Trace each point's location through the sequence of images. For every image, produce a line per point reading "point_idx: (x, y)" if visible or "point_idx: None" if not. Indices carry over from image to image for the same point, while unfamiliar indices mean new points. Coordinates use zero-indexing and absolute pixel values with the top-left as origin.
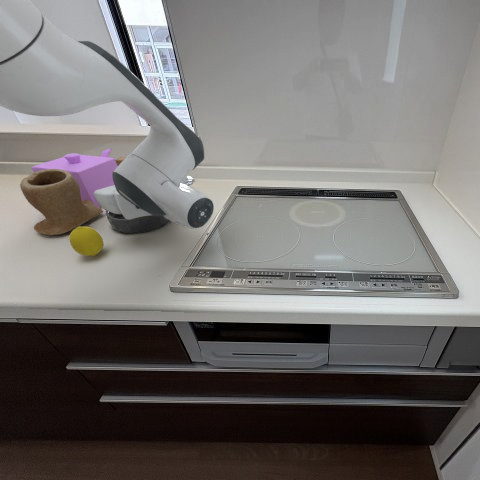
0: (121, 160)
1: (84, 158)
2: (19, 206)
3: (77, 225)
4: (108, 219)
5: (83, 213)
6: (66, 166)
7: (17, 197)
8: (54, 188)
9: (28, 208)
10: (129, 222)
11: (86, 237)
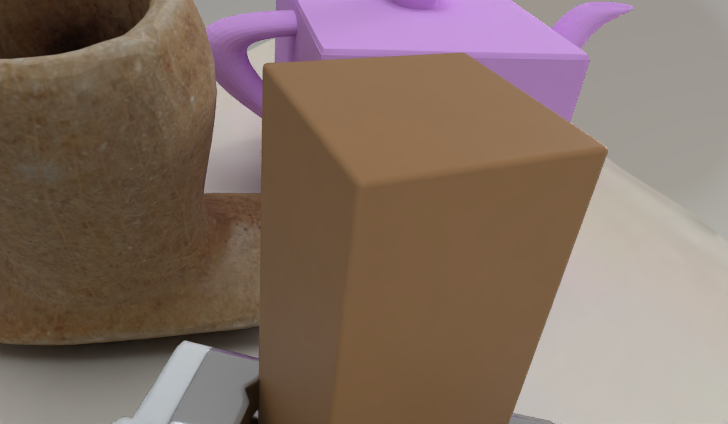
0: (310, 125)
1: (472, 2)
2: (218, 90)
3: (63, 341)
4: None
5: (149, 290)
6: (352, 4)
7: (268, 60)
8: None
9: (215, 110)
10: None
11: None
